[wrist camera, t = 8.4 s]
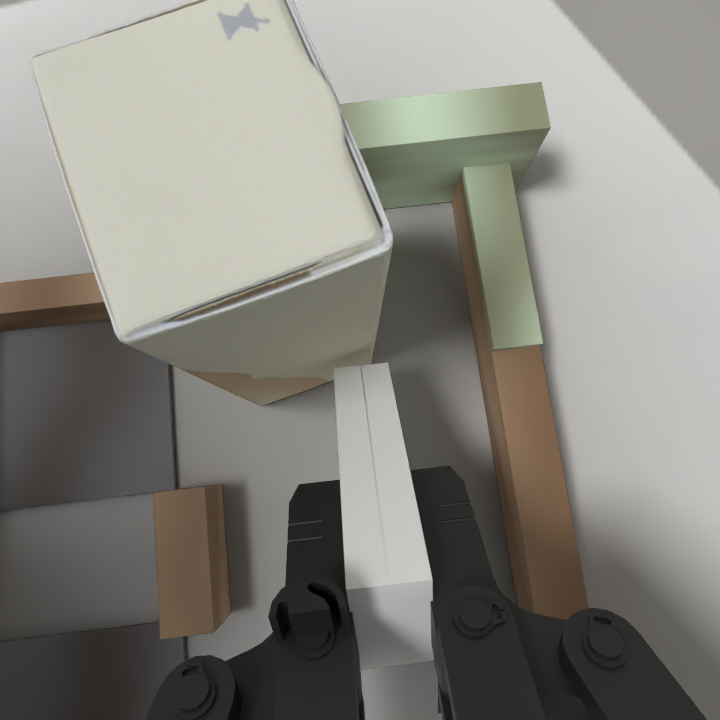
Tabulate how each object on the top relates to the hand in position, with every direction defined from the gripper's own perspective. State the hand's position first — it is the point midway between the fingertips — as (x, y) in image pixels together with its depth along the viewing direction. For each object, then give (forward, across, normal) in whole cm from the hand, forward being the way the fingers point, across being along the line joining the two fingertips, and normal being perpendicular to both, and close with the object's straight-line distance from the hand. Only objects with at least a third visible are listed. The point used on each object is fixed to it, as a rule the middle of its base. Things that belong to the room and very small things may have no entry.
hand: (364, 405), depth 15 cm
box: (+5, -2, 0) cm, 5 cm away
